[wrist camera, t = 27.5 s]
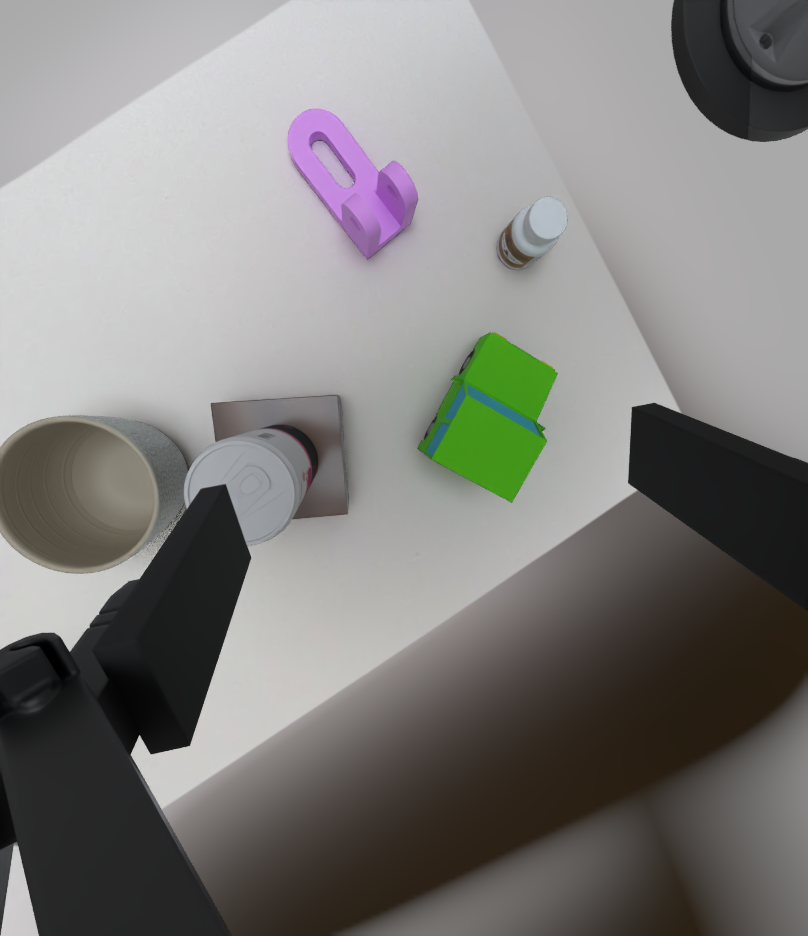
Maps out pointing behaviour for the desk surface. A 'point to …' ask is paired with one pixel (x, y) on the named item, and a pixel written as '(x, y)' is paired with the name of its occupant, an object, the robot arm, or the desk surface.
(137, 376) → the desk surface
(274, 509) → the beverage can
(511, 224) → the pill bottle
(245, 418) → the riser
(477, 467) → the toy car
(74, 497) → the planter
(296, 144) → the bracket
